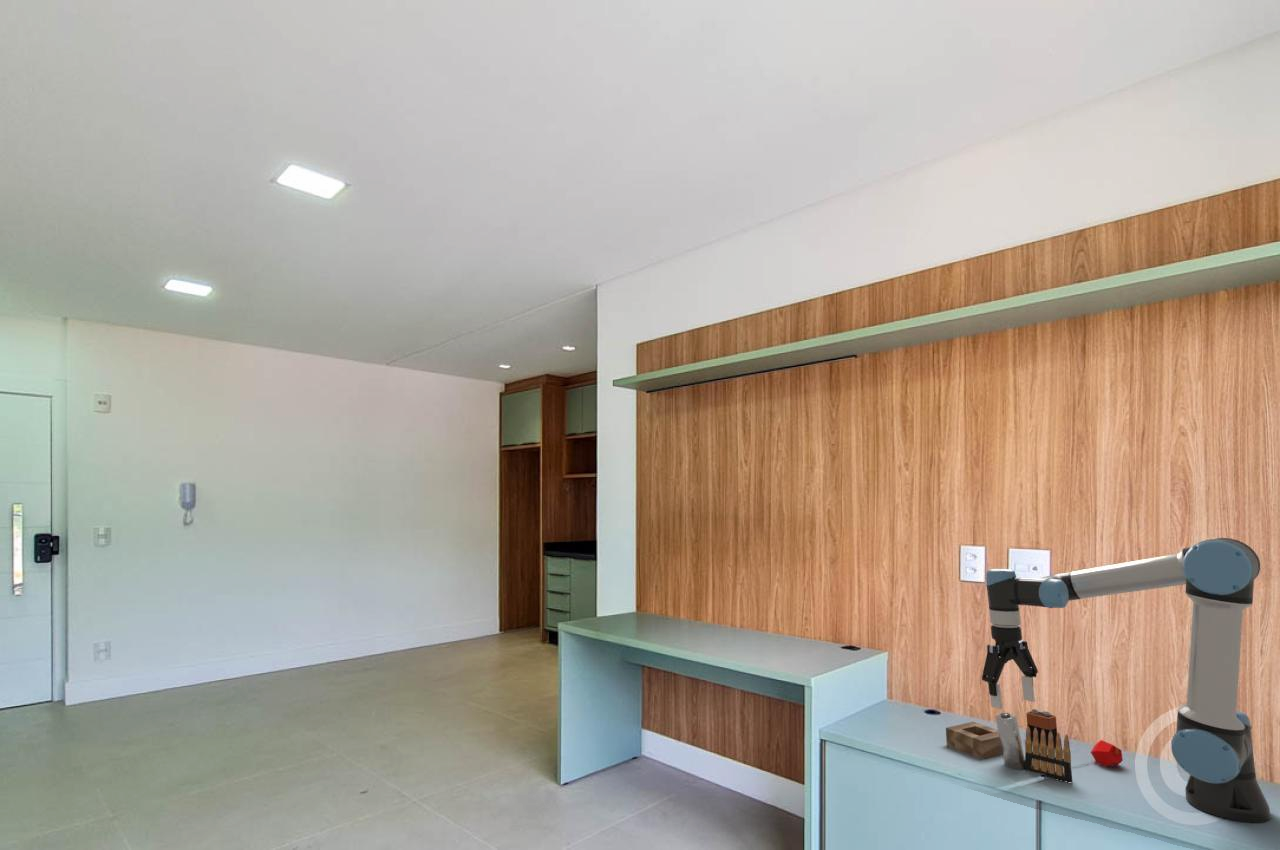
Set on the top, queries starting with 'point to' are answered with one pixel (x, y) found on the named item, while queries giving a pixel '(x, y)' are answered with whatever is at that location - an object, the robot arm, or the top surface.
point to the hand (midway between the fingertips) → (1013, 704)
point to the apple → (1106, 754)
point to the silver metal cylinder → (1010, 741)
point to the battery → (1042, 724)
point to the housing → (974, 740)
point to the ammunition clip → (1048, 756)
